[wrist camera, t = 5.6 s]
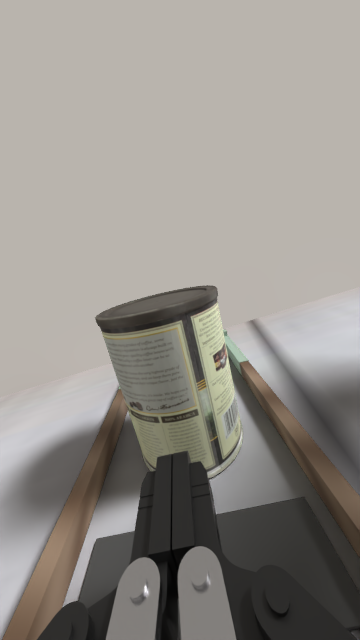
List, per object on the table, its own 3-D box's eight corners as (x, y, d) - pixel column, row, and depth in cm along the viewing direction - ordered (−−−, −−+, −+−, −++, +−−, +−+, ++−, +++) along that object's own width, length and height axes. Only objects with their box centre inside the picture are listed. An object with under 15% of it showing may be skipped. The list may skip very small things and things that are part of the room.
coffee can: (153, 407, 27) (121, 301, 24) (234, 396, 25) (212, 281, 22) (126, 491, 17) (65, 327, 14) (256, 480, 15) (223, 294, 12)
